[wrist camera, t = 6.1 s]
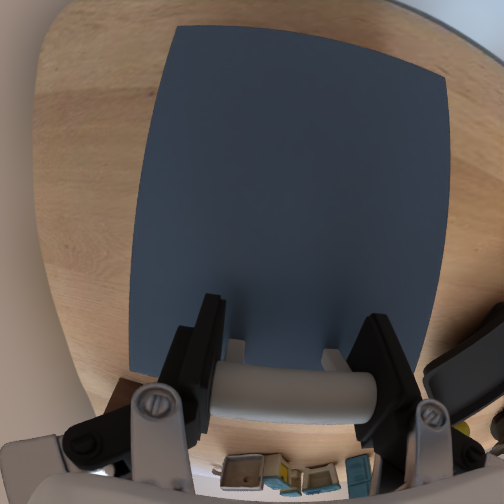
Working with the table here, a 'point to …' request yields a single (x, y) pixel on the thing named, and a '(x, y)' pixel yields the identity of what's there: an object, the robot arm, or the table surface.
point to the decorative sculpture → (241, 473)
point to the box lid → (289, 215)
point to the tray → (470, 370)
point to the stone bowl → (498, 434)
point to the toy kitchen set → (316, 477)
